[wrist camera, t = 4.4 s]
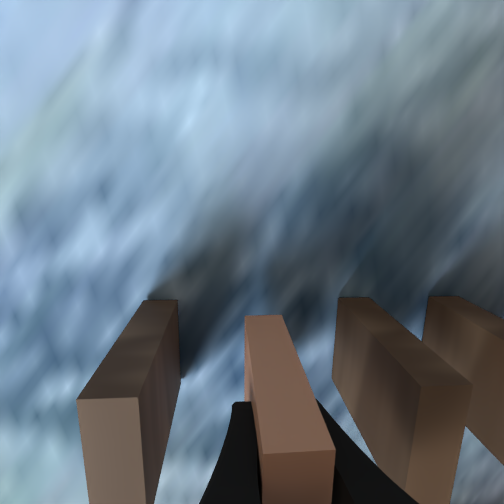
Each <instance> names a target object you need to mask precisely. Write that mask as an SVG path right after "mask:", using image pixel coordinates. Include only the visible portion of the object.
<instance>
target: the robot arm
mask: <svg viewBox="0 0 504 504" xmlns="http://www.w3.org/2000/svg"><path fill="white" fill-rule="evenodd" d="M316 402H317V404H318V407H319V409H320V412H321V414H322V417H323V419H324V422H325V424H326V427H327V429H328V432H329V434H330V437H331V439H332V442H333V444H334V447H335V449H336V452H335V465H334V477H333V489H332V501H331V504H419V503H418V502H417V501H415V500H414V499H413V498H412V497H411V496H410V495H408V494H407V493H406V492H405V491H404V490H403V489H401V488H400V487H399V486H398V485H397V484H396V483H394V482H393V481H392V480H391V479H390V478H389V477H388V476H387V475H386V474H385V473H384V472H383V471H382V470H381V469H380V468H379V467H378V466H377V465H376V464H375V463H374V462H372V461H371V460H370V458H369V457H368V456H367V455H366V454H365V453H364V452H363V451H362V450H361V449H360V448H359V447H358V446H357V445H356V444H355V443H354V442H353V441H352V439H351V438H350V437H349V436H348V435H347V434H346V433H345V432H344V431H343V430H342V428H341V427H340V426H339V425H338V424H337V423H336V421H335V420H334V419H333V418H332V417H331V416H330V414H329V413H328V412H327V411H326V410H325V408H324V407H323V406H322V405H321V404H320V402H319V401H318V400H317V399H316ZM199 504H261V503H260V496H259V488H258V475H257V436H256V429H255V422H254V415H253V409H252V403H251V401H244V402H235V403H234V404H233V405H232V413H231V419H230V424H229V427H228V431H227V435H226V438H225V441H224V444H223V447H222V450H221V453H220V456H219V459H218V461H217V464H216V466H215V469H214V471H213V474H212V476H211V479H210V481H209V483H208V486H207V488H206V490H205V492H204V494H203V496H202V499H201V501H200V503H199Z"/></svg>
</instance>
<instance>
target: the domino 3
mask: <svg viewBox="0 0 504 504" xmlns="http://www.w3.org/2000/svg"><path fill="white" fill-rule="evenodd" d="M422 342H423V343H424V344H425V345H426V346H428V347H429V348H430V349H431V350H432V351H434V352H435V353H436V354H437V355H438V356H440V357H441V358H442V359H443V360H444V361H446V362H447V363H448V364H449V365H450V366H452V367H453V368H454V369H455V370H456V371H457V372H459V373H460V374H461V375H462V376H463V377H465V378H466V379H467V380H468V381H469V382H471V383H472V384H473V389H472V394H471V399H470V404H469V409H468V414H467V419H466V424H465V426H466V427H467V428H468V429H469V430H470V431H471V432H472V433H473V434H474V435H475V436H476V437H477V438H478V439H479V440H480V442H481V443H482V444H483V445H484V446H485V447H486V448H487V449H488V450H489V451H490V452H491V453H492V454H493V455H494V456H495V457H496V458H497V459H498V460H499V461H500V462H501V463H502V464H503V465H504V319H502V318H500V317H498V316H496V315H494V314H492V313H490V312H488V311H486V310H484V309H482V308H480V307H478V306H476V305H474V304H472V303H470V302H468V301H467V300H465V299H463V298H461V297H459V296H434V297H429V299H428V305H427V312H426V318H425V325H424V331H423V338H422Z"/></svg>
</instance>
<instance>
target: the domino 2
mask: <svg viewBox="0 0 504 504" xmlns="http://www.w3.org/2000/svg"><path fill="white" fill-rule="evenodd" d="M332 380H333V382H334V384H335V386H336V388H337V389H338V391H339V393H340V395H341V397H342V399H343V401H344V403H345V405H346V407H347V409H348V410H349V412H350V414H351V416H352V418H353V420H354V422H355V424H356V426H357V428H358V429H359V431H360V433H361V435H362V437H363V439H364V441H365V443H366V445H367V447H368V449H369V450H370V452H371V454H372V456H373V458H374V460H375V462H376V464H377V466H378V467H379V468H380V469H381V470H382V471H383V472H384V473H385V474H386V475H387V476H388V477H389V478H390V479H391V480H392V481H393V482H394V483H396V484H397V485H398V486H399V487H400V488H401V489H403V490H404V491H405V492H406V493H407V494H408V495H410V496H411V497H412V498H413V499H414V500H415V501H417V502H418V503H419V504H450V499H451V494H452V489H453V484H454V479H455V474H456V469H457V464H458V459H459V454H460V449H461V444H462V439H463V434H464V429H465V424H466V419H467V414H468V409H469V404H470V399H471V394H472V389H473V384H472V383H471V382H469V381H468V380H467V379H466V378H465V377H463V376H462V375H461V374H460V373H459V372H457V371H456V370H455V369H454V368H453V367H452V366H450V365H449V364H448V363H447V362H446V361H444V360H443V359H442V358H441V357H440V356H438V355H437V354H436V353H435V352H434V351H432V350H431V349H430V348H429V347H428V346H426V345H425V344H424V343H423V342H422V341H420V340H419V339H418V338H417V337H416V336H415V335H413V334H412V333H411V332H410V331H409V330H407V329H406V328H405V327H404V326H403V325H401V324H400V323H399V322H398V321H397V320H395V319H394V318H393V317H392V316H391V315H389V314H388V313H387V312H386V311H385V310H383V309H382V308H381V307H380V306H379V305H377V304H376V303H375V302H374V301H373V300H372V299H370V298H369V297H359V298H338V308H337V320H336V332H335V344H334V356H333V368H332Z"/></svg>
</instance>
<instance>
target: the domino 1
mask: <svg viewBox="0 0 504 504" xmlns="http://www.w3.org/2000/svg"><path fill="white" fill-rule="evenodd" d="M180 384H181V378H180V352H179V327H178V302H177V300H144V301H143V302H142V304H141V305H140V307H139V308H138V309H137V311H136V312H135V314H134V315H133V317H132V318H131V320H130V321H129V323H128V324H127V326H126V327H125V329H124V330H123V332H122V333H121V334H120V336H119V337H118V339H117V340H116V342H115V343H114V345H113V346H112V348H111V349H110V351H109V352H108V354H107V355H106V357H105V358H104V359H103V361H102V362H101V364H100V365H99V367H98V368H97V370H96V371H95V373H94V374H93V376H92V377H91V379H90V380H89V382H88V383H87V384H86V386H85V387H84V389H83V390H82V392H81V393H80V395H79V396H78V398H77V399H76V402H77V410H78V418H79V426H80V433H81V441H82V449H83V457H84V465H85V473H86V481H87V489H88V497H89V504H154V501H155V496H156V492H157V487H158V483H159V478H160V474H161V469H162V465H163V460H164V456H165V451H166V447H167V442H168V438H169V434H170V429H171V425H172V420H173V416H174V411H175V407H176V402H177V398H178V393H179V389H180Z"/></svg>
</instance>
